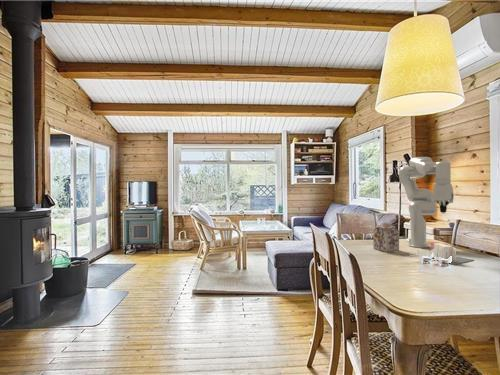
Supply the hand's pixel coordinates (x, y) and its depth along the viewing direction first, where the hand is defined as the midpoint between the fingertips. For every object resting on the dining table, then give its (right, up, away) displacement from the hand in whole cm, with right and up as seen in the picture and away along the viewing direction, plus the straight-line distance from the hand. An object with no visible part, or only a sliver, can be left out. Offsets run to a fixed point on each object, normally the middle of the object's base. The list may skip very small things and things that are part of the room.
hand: (443, 212), depth 176 cm
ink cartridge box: (-7, -22, -2) cm, 23 cm away
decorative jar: (-25, -27, +21) cm, 42 cm away
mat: (-2, -27, -9) cm, 28 cm away
